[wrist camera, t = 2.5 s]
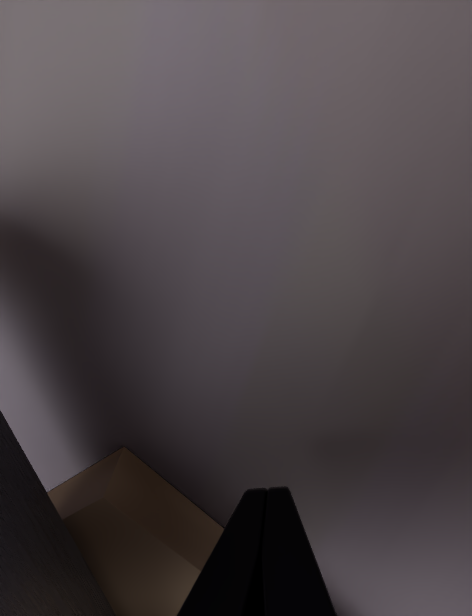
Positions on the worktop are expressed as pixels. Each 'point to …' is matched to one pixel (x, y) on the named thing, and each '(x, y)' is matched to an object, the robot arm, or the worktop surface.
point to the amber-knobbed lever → (38, 547)
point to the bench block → (136, 534)
